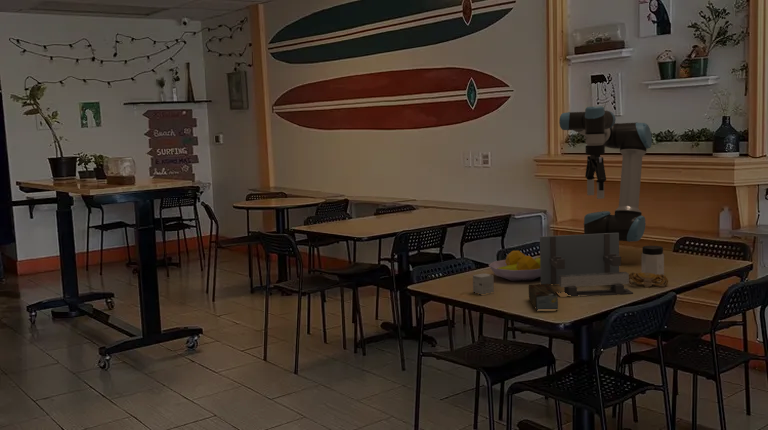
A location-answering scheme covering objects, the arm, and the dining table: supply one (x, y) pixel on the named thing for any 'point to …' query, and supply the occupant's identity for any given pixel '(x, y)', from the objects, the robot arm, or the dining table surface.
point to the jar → (652, 260)
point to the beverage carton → (543, 296)
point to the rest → (598, 291)
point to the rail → (593, 279)
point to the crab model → (647, 279)
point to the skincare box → (483, 283)
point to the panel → (578, 255)
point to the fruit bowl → (517, 267)
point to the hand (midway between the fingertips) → (595, 196)
